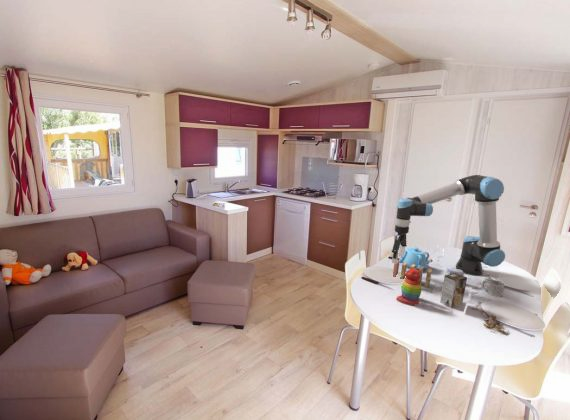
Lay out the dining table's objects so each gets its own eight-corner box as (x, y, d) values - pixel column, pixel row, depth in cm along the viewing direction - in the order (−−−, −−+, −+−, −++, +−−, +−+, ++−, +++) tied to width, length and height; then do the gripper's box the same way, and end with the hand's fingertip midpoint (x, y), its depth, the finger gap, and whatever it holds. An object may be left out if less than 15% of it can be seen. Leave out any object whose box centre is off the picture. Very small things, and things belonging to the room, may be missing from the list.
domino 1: (392, 277, 179) (394, 262, 177) (394, 275, 183) (397, 259, 181) (395, 278, 179) (397, 262, 176) (397, 275, 182) (399, 260, 180)
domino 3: (412, 280, 177) (415, 264, 175) (410, 283, 173) (413, 267, 171) (410, 279, 178) (412, 263, 176) (407, 282, 174) (410, 266, 172)
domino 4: (421, 282, 175) (423, 266, 172) (418, 285, 171) (421, 269, 169) (418, 281, 176) (420, 266, 173) (416, 284, 172) (418, 268, 169)
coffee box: (450, 300, 158) (455, 272, 155) (462, 306, 153) (468, 277, 149) (439, 303, 154) (444, 275, 150) (450, 310, 149) (456, 280, 145)
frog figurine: (475, 317, 144) (477, 310, 143) (505, 324, 140) (507, 316, 139) (480, 330, 134) (481, 322, 133) (512, 338, 129) (514, 330, 129)
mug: (503, 293, 168) (505, 283, 167) (501, 297, 164) (503, 286, 162) (482, 287, 175) (484, 277, 174) (479, 291, 170) (482, 280, 169)
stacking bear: (403, 293, 163) (408, 263, 159) (422, 301, 156) (428, 269, 152) (394, 300, 156) (399, 268, 152) (414, 308, 149) (419, 275, 145)
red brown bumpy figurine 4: (405, 278, 180) (407, 262, 178) (402, 280, 176) (405, 265, 174) (402, 277, 181) (404, 261, 179) (399, 280, 177) (402, 264, 175)
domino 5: (429, 285, 172) (432, 269, 170) (427, 288, 168) (430, 271, 166) (426, 284, 173) (429, 268, 171) (424, 287, 169) (427, 271, 167)
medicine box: (458, 282, 180) (460, 269, 178) (461, 286, 175) (464, 272, 173) (444, 281, 180) (446, 268, 178) (447, 284, 176) (450, 271, 174)
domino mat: (436, 286, 173) (436, 284, 173) (431, 294, 164) (432, 292, 164) (391, 273, 188) (391, 271, 188) (384, 279, 179) (385, 278, 179)
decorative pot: (431, 269, 198) (434, 249, 195) (418, 274, 188) (421, 254, 185) (408, 260, 210) (411, 242, 207) (395, 265, 201) (398, 246, 198)
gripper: (402, 231, 162) (397, 268, 167) (414, 222, 181) (410, 255, 186) (388, 228, 166) (384, 264, 171) (401, 220, 186) (397, 252, 190)
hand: (397, 259), depth 179 cm, fingers open, 13 cm apart
